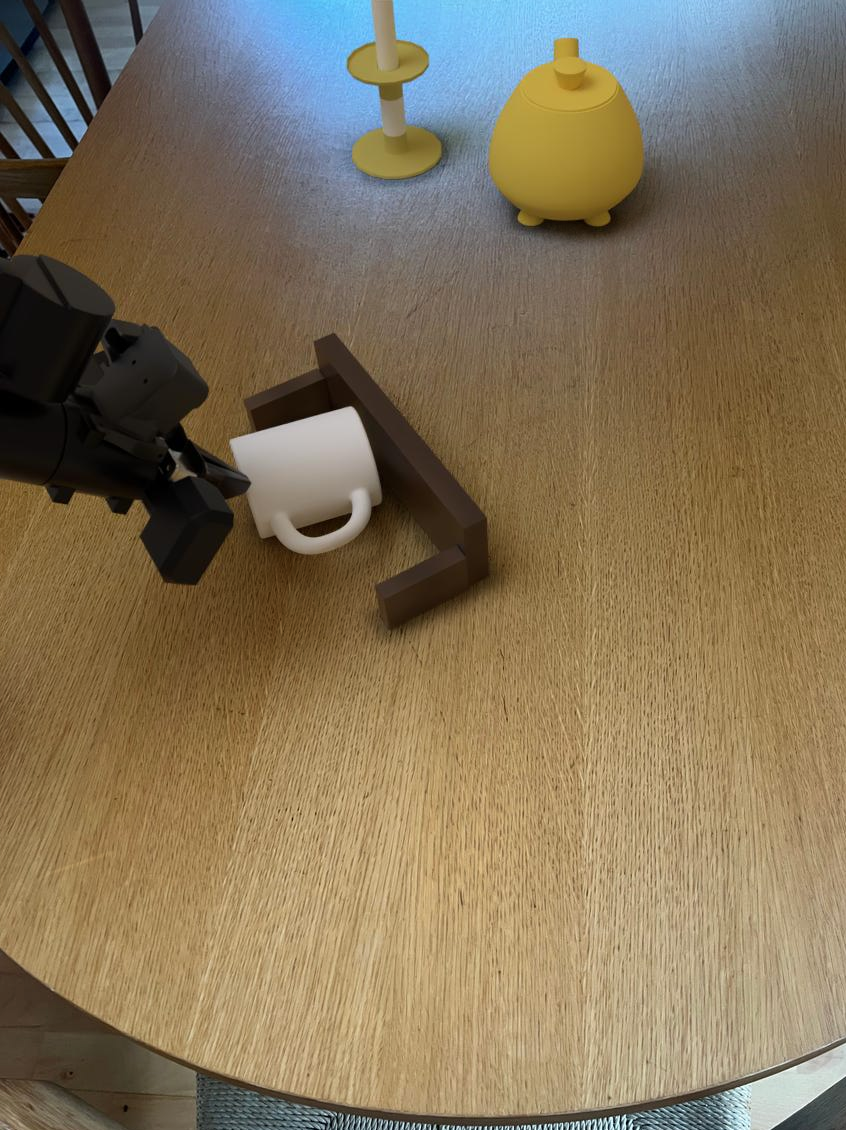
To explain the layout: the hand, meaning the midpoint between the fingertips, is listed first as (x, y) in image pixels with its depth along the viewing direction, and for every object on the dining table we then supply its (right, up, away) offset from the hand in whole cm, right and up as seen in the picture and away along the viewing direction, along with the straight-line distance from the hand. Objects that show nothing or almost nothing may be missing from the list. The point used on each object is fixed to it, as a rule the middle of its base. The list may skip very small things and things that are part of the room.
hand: (246, 484), depth 75 cm
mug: (+4, -2, +8) cm, 9 cm away
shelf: (+8, 0, +9) cm, 12 cm away
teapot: (+26, +36, +32) cm, 55 cm away
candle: (+8, +42, +37) cm, 56 cm away
